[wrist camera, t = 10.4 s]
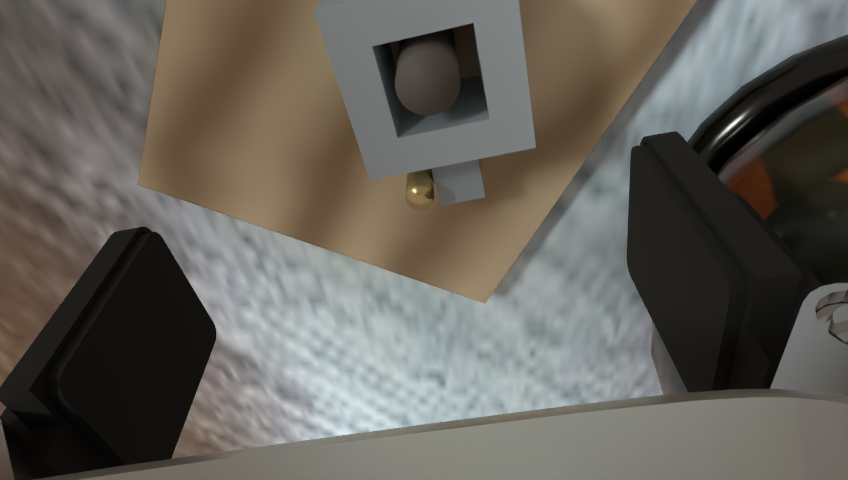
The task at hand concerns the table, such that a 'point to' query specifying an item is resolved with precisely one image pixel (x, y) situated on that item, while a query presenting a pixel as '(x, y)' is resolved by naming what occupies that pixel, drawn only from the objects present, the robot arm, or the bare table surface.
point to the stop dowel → (420, 189)
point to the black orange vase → (785, 163)
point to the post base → (336, 143)
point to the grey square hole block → (445, 132)
